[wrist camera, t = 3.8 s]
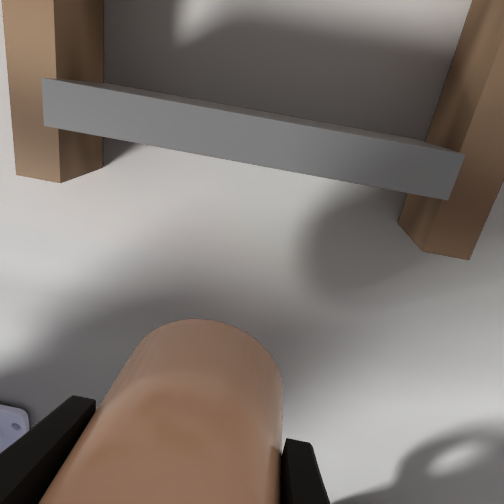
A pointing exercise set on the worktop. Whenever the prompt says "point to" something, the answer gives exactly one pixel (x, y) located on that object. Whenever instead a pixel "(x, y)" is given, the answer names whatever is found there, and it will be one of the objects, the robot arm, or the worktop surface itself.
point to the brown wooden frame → (440, 133)
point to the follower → (251, 136)
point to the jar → (182, 425)
